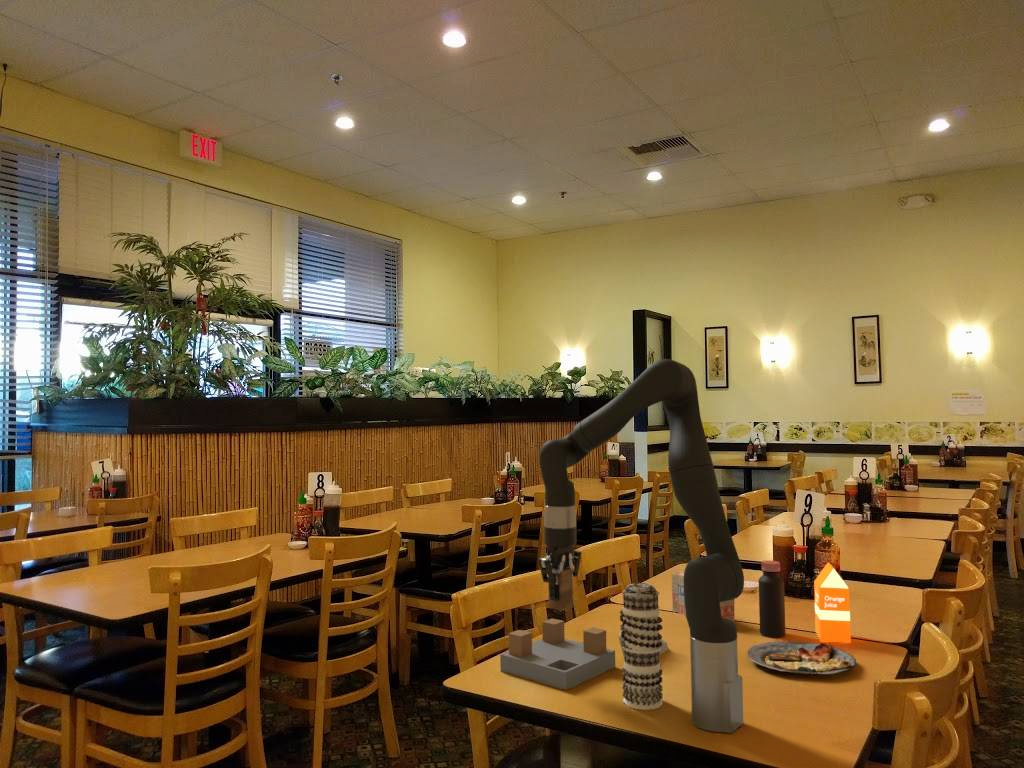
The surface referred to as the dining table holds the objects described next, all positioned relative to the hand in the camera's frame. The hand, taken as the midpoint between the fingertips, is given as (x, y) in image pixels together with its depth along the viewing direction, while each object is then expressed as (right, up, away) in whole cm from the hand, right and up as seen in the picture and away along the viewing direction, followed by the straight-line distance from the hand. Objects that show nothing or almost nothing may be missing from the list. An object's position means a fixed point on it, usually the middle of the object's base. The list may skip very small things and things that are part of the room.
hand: (560, 597), depth 174 cm
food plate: (+60, -20, +10) cm, 64 cm away
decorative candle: (+17, -19, -13) cm, 29 cm away
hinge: (+22, -20, +18) cm, 35 cm away
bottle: (+61, -20, +34) cm, 73 cm away
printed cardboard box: (+46, -21, +51) cm, 72 cm away
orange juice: (+76, -20, +30) cm, 85 cm away
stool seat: (0, -20, +9) cm, 22 cm away
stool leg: (0, -2, 0) cm, 2 cm away
